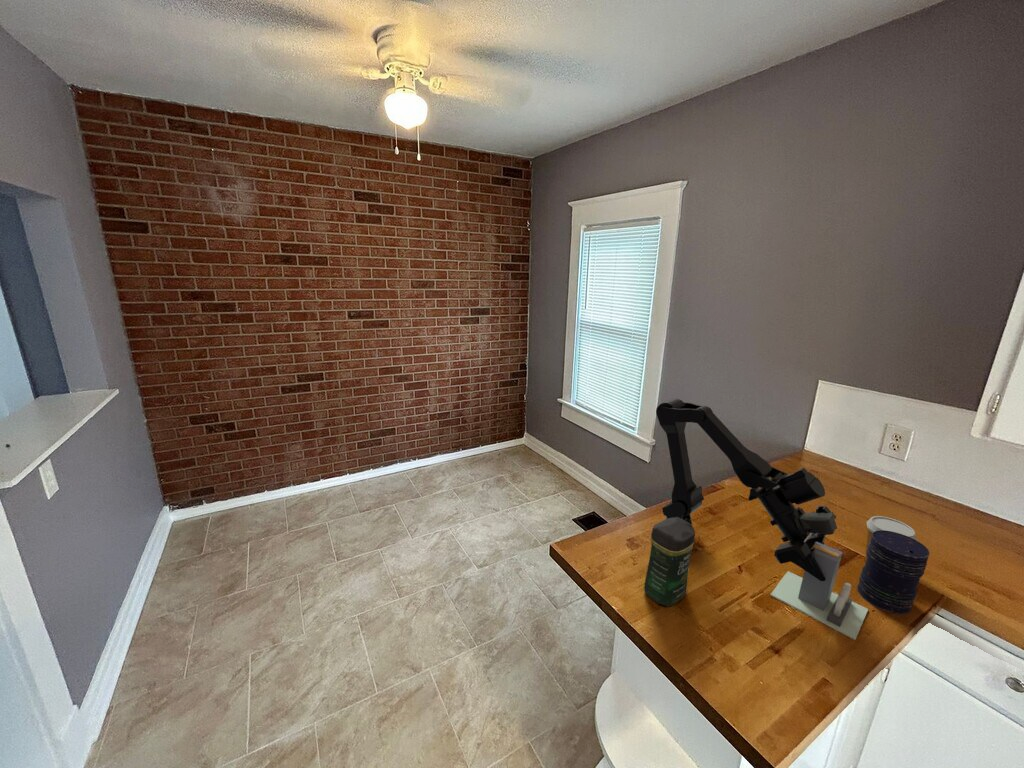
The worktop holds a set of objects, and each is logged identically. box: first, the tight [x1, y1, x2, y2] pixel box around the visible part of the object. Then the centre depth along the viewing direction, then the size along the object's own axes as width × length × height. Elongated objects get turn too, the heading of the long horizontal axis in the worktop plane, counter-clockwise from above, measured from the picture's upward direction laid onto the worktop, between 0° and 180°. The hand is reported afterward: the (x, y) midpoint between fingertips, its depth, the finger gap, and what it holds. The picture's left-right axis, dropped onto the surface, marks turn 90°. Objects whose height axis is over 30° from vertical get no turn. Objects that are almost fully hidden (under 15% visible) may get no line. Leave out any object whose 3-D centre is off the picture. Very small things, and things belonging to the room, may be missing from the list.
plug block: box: [798, 542, 843, 611], centre depth 95 cm, size 5×5×13 cm
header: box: [769, 570, 869, 641], centre depth 96 cm, size 16×12×6 cm
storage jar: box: [857, 530, 930, 615], centre depth 96 cm, size 10×10×15 cm
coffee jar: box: [643, 517, 696, 607], centre depth 96 cm, size 10×8×19 cm
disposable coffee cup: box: [864, 515, 918, 564], centre depth 107 cm, size 10×10×12 cm
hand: (827, 574), depth 94 cm, fingers open, 5 cm apart
